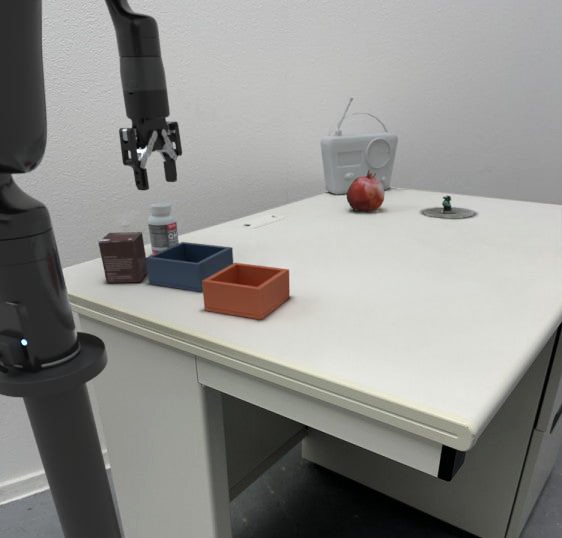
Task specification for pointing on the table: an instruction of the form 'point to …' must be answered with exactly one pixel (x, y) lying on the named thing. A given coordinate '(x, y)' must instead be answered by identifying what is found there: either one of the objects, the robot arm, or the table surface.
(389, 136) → the radio
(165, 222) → the pill bottle
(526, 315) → the table surface
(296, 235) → the table surface
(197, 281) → the slate bin
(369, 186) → the fruit
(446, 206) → the sculpture
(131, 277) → the box
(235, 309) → the terracotta bin
